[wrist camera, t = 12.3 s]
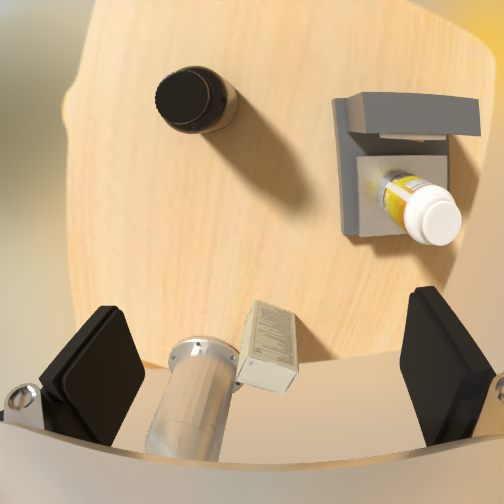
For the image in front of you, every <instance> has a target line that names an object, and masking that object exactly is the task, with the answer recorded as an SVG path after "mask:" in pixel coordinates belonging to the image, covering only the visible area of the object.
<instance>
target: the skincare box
mask: <svg viewBox="0 0 504 504" xmlns="http://www.w3.org/2000/svg"><path fill="white" fill-rule="evenodd" d="M298 373H299V367H298V351H297V336H296V322H295V314H294V313H292V312H289V311H286V310H284V309H281V308H278V307H275V306H272V305H270V304H267V303H264V302H261V301H258V300H255V301H254V303H253V305H252V307H251V309H250V312H249V314H248V316H247V318H246V321H245V325H244V331H243V337H242V342H241V349H240V355H239V361H238V367H237V373H236V381H238V382H241V383H244V384H247V385H250V386H253V387H257V388H260V389H263V390H267V391H271V392H274V393H278V394H282V395H283V394H284V393H285V392H286V391H287V389H288V388H289V387H290V385H291V384H292V382H293V381H294V379H295V378H296V376H297V375H298Z"/></svg>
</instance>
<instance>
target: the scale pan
mask: <svg viewBox="0 0 504 504" xmlns="http://www.w3.org/2000/svg"><path fill="white" fill-rule="evenodd" d="M355 161H356V179H357V201H358V235H359V236H360V237H371V236H385V235H398V234H407V233H406V232H405V231H404V230H403V229H402V228H401V227H400V226H399V225H398V224H397V223H396V222H395V221H394V220H393V219H392V218H391V217H390V216H389V215H388V214H387V212H386V211H385V209H384V206H383V199H382V197H383V191H384V188H385V186H386V184H387V183H388V182H389V181H390V180H391V179H392V178H393V177H394V176H396V175H399V174H403V173H408V174H413V175H415V176H418V177H420V178H422V179H425V180H427V181H429V182H432V183H434V184H436V185H438V186H440V187H442V188H444V189H446V190H447V156H446V155H366V156H355Z"/></svg>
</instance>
